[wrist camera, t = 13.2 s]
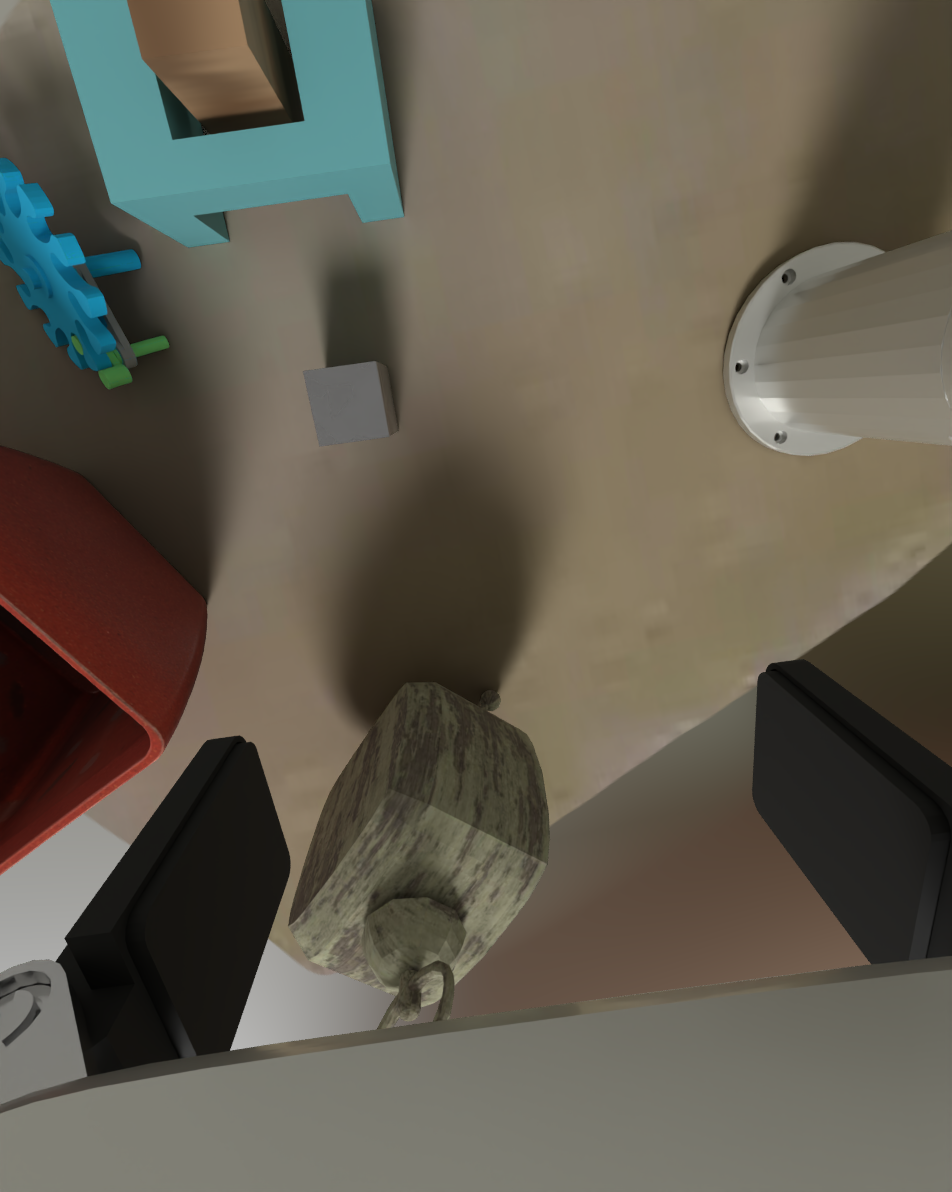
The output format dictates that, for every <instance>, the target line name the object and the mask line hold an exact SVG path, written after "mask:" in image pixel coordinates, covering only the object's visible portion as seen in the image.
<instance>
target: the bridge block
mask: <svg viewBox="0 0 952 1192" xmlns="http://www.w3.org/2000/svg"><path fill="white" fill-rule="evenodd" d="M281 1H282V6H283V11H284V16H285V21H286V27H287V32H288V37H289V42H290V47H291V53H292V58H293V63H294V68H295V73H296V79H297V84H298V89H299V94H300V99H301V104H302V110H303V115H304V120H305V121H302V122H295V123H288V124H281V125H274V126H267V127H260V128H253V129H246V130H239V131H232V132H225V133H218V134H211V135H203V130H202V126H201V123H200V122H199V121H198V120H197V119H196V118H195V117H194V116H193V115H192V113H191V112H190V111H189V110H188V109H187V108H186V107H185V106H184V105H183V104H182V103H181V101H180V100H179V99H178V98H177V97H176V96H175V95H174V94H173V93H172V92H171V90H170V89H169V88H168V87H167V86H166V85H165V84H164V83H163V82H162V81H161V79H160V78H159V77H158V76H157V75H156V74H155V73H154V72H153V71H152V70H151V69H150V67H149V66H148V65H147V64H146V63H145V62H144V61H143V60H142V57H141V53H140V50H139V46H138V42H137V38H136V34H135V30H134V26H133V23H132V19H131V15H130V11H129V7H128V3H127V0H50V2H51V6H52V9H53V12H54V16H55V19H56V22H57V26H58V29H59V32H60V36H61V39H62V42H63V46H64V49H65V52H66V56H67V59H68V62H69V66H70V69H71V72H72V75H73V79H74V82H75V85H76V89H77V92H78V95H79V99H80V102H81V105H82V109H83V112H84V115H85V119H86V122H87V125H88V129H89V132H90V135H91V139H92V142H93V145H94V148H95V152H96V155H97V158H98V162H99V165H100V168H101V172H102V175H103V178H104V182H105V185H106V188H107V192H108V195H109V198H110V202H111V204H113V205H115V206H117V207H118V208H120V209H122V210H124V211H125V212H127V213H129V214H131V215H132V216H134V217H136V218H138V219H139V220H141V221H143V222H145V223H146V224H148V225H150V226H152V227H153V228H155V229H157V230H158V231H160V232H162V233H164V234H165V235H167V236H169V237H171V238H172V239H174V240H176V241H178V242H179V243H181V244H183V245H185V246H186V247H188V248H189V247H196V246H203V245H210V244H217V243H224V242H230V241H229V237H228V233H227V229H226V224H225V220H224V216H223V211H230V210H237V209H244V208H251V207H258V206H265V205H272V204H279V203H286V202H293V201H300V200H307V199H314V198H321V197H328V196H335V195H342V194H348V195H349V197H350V199H351V201H352V203H353V205H354V207H355V209H356V211H357V213H358V215H359V217H360V219H361V221H362V223H364V222H372V221H379V220H386V219H393V218H400V217H404V213H403V206H402V200H401V193H400V186H399V180H398V173H397V166H396V160H395V153H394V146H393V140H392V133H391V127H390V120H389V113H388V107H387V100H386V93H385V87H384V80H383V73H382V67H381V60H380V53H379V47H378V40H377V33H376V27H375V20H374V14H373V7H372V0H281Z"/></svg>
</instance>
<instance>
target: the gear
mask: <svg viewBox="0 0 952 1192" xmlns="http://www.w3.org/2000/svg"><path fill="white" fill-rule="evenodd" d="M53 215H54V210H53V206H52V205H51V203H50V201H49V199H48V198H47V196H46V194H45V193H44V191H43V190H42V189H41V187H40V186H39V184H38V183H31V184H24V180H23V177H22V175H21V173H20V171H19V170H18V168H17V167H16V166H15V165H14V164H13V163H12V162H11V161H10V160H8V159H7V158H0V260H1V261H2V262H3V263H4V264H5V265H8V266H10V267H11V268H12V269H13V270H14V271H15V272H16V273H17V274H18V275H19V276H20V277H21V279H22V280H23V281H24V282H25V284H21V285H17V286H16V288H17V290H18V292H19V294H20V296H21V298H22V300H23V302H24V303H25V305H26V307H27V308H28V309H29V310H32V309H37V308H41V309H42V310H43V311H44V312H45V314H46V315H47V317H48V319H49V321H50V323H46V324H43V328H44V330H45V332H46V334H47V335H48V337H49V338H50V339H51V341H52V342H53V344H54V345H55V346H56V347H59V346H63V345H67V344H69V347H68V348H67V352H68V355H69V357H70V359H71V360H72V361H73V362H74V363H75V364H76V365H77V366H78V367H79V368H80V369H81V370H83V369H86V368H91V369H92V370H94V371H99V370H100V371H99V372H98V373H99V377H100V379H101V381H102V382H103V384H104V385H105V386H106V388H108V389H112V388H115V387H118V386H121V385H125V384H128V383H131V382H132V377H131V374H130V372H129V370H128V369H129V368H132V367H135V366H137V359H136V357H139V356H143V355H146V354H150V353H153V352H156V351H160V350H163V349H167V348H169V343H168V341H167V339H166V338H165V337H164V336H163V335H162V336H159V337H155V338H151V339H148V340H144V341H140V342H137V343H133V344H129V342H128V340H127V339H126V337H125V335H124V333H123V331H122V329H121V328H120V326H119V324H118V322H117V320H116V319H115V317H114V315H113V313H112V311H111V310H110V308H109V306H108V304H107V302H106V301H105V299H104V296H103V294H102V293H101V291H100V290H99V288H98V286H97V284H96V282H95V281H94V279H93V278H96V277H101V276H106V275H111V274H116V273H122V272H127V271H132V270H137V269H140V268H141V263H140V259H139V257H138V255H137V254H136V252H135V251H134V250H133V249H129V250H123V251H118V252H112V253H106V254H100V255H95V256H89V257H84V255H83V253H82V250H81V248H80V246H79V244H78V242H77V240H76V238H75V236H74V235H73V234H72V233H64V234H57V235H53V234H52V233H51V231H50V230H49V228H48V226H47V224H46V221H45V217H48V216H53ZM109 367H111V368H109ZM106 368H107V369H106ZM103 369H104V370H103Z"/></svg>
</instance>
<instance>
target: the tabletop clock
mask: <svg viewBox="0 0 952 1192" xmlns="http://www.w3.org/2000/svg"><path fill="white" fill-rule="evenodd" d="M500 702H501V699H500V696H499V694H498V693H496V692H495V691H492V690H487V691H486V692H484V693H483V694H482V696H481V699H480V703H481V706H480V707H479V706H477V705H475V704H473V703H472V702H470V701H468V700H466V699H464V698H463V697H461V696H459V695H457V694H456V693H454V692H452V691H450V690H448V689H447V688H445V687H443V686H441V685H439V684H438V683H436V682H414V683H405V684H404V685H403V686H402V688H401V689H400V690H399V691H398V692H397V694H396V695H395V696H394V698H393V699H392V700H391V702H390V703H389V704H388V706H387V707H386V709H385V710H384V711H383V713H382V714H381V716H380V717H379V719H378V720H377V721H376V723H375V724H374V726H373V727H372V728H371V730H370V731H369V733H368V734H367V736H366V737H365V739H364V740H363V742H362V743H361V745H360V746H359V747H358V749H357V750H356V752H355V753H354V755H353V756H352V758H351V759H350V761H349V762H348V764H347V765H346V767H345V768H344V770H343V771H342V773H341V775H340V776H339V778H338V779H337V781H336V783H335V784H334V786H333V788H332V790H331V791H330V793H329V796H328V798H327V800H326V803H325V805H324V808H323V810H322V813H321V815H320V818H319V821H318V824H317V827H316V830H315V833H314V836H313V839H312V842H311V845H310V848H309V851H308V854H307V857H306V860H305V863H304V866H303V870H302V873H301V876H300V880H299V883H298V887H297V890H296V893H295V897H294V900H293V904H292V908H291V912H290V918H289V925H288V927H289V929H290V930H291V932H292V934H293V935H294V937H295V939H296V940H297V942H298V944H299V945H300V947H301V949H302V951H303V952H304V954H305V956H306V957H307V959H308V960H309V961H311V962H314V963H316V964H319V965H321V966H324V967H326V968H328V969H331V970H333V971H336V972H338V973H341V974H343V975H346V976H348V977H350V978H353V979H355V980H358V981H360V982H363V983H365V984H368V985H370V986H372V987H375V988H377V989H380V990H382V991H385V992H387V993H390V994H392V995H394V996H396V997H395V999H394V1000H393V1001H392V1003H391V1004H390V1006H389V1008H388V1009H387V1011H386V1013H385V1015H384V1017H383V1019H382V1021H381V1022H380V1024H379V1026H378V1028H377V1029H385V1028H392V1027H394V1025H395V1024H396V1022H397V1021H398V1019H399V1018H401V1019H402V1020H404V1021H413V1020H415V1019H416V1018H417V1017H418V1016H419V1013H420V1010H421V1007H424V1006H427V1005H430V1004H433V1003H435V1002H436V1001H438V1000H439V999H441V1000H440V1004H439V1007H438V1010H437V1012H436V1015H435V1017H434V1020H433V1022H435V1021H442V1020H449V1018H450V1014H451V1009H452V1002H453V997H454V986H455V985H456V984H457V983H458V982H459V981H460V980H461V979H462V978H463V977H464V976H465V975H466V974H467V973H468V972H469V971H470V970H471V969H472V968H473V967H474V966H475V965H476V964H477V963H478V962H479V961H480V960H481V959H482V958H483V957H484V956H485V954H486V953H487V952H488V950H489V949H490V948H491V947H492V945H493V944H494V943H495V942H496V940H497V939H498V938H499V937H500V935H501V934H502V933H503V932H504V930H505V929H506V928H507V927H508V925H509V924H510V923H511V922H512V920H513V919H514V918H515V916H516V915H517V914H518V913H519V911H520V910H521V909H522V907H523V906H524V905H525V903H526V902H527V900H528V899H529V897H530V896H531V894H532V893H533V891H534V889H535V888H536V886H537V884H538V882H539V880H540V878H541V876H542V874H543V872H544V870H545V868H546V866H547V864H548V851H549V841H550V831H549V813H548V806H547V799H546V793H545V787H544V780H543V774H542V770H541V767H540V764H539V761H538V758H537V756H536V753H535V750H534V747H533V744H532V742H531V741H530V739H529V737H528V736H527V734H526V733H524V732H523V731H521V730H520V729H518V728H516V727H514V726H513V725H511V724H509V723H507V722H505V721H504V720H502V719H500V718H498V717H496V716H495V715H493V714H491V713H489V712H488V711H494V710H495V709H497V708H498V707H499V705H500Z"/></svg>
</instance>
